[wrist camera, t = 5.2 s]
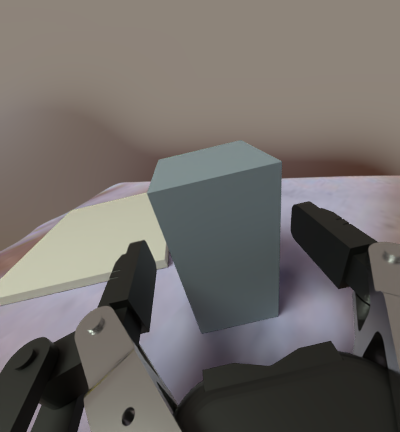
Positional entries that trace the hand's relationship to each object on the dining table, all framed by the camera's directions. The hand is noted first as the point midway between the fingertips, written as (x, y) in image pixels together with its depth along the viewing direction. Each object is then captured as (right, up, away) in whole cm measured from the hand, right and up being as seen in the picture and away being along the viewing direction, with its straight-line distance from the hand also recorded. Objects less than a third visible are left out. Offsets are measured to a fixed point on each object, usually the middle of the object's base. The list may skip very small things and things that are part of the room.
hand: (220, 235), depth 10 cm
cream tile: (-14, -1, +15) cm, 21 cm away
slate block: (+1, -5, +4) cm, 6 cm away
